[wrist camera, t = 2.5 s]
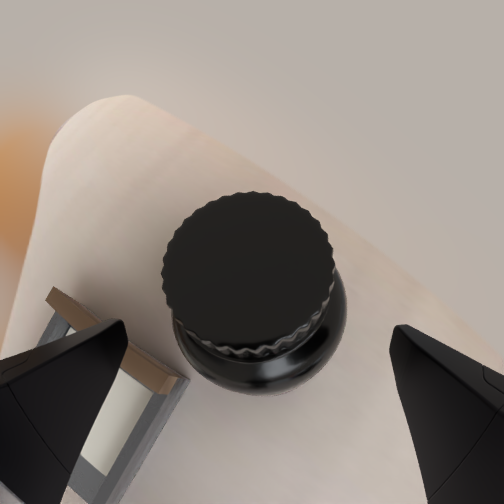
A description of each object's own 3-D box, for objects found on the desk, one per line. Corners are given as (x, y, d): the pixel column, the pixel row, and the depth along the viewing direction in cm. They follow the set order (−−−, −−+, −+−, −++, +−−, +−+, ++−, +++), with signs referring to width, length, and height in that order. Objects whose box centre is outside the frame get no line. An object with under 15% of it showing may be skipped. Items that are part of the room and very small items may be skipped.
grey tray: (112, 513, 13) (82, 528, 9) (22, 425, 16) (-11, 422, 12) (190, 380, 18) (168, 375, 14) (83, 305, 21) (53, 286, 17)
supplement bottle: (302, 281, 20) (322, 147, 10) (335, 377, 17) (417, 341, 6) (204, 308, 20) (124, 199, 9) (228, 407, 17) (147, 419, 6)
